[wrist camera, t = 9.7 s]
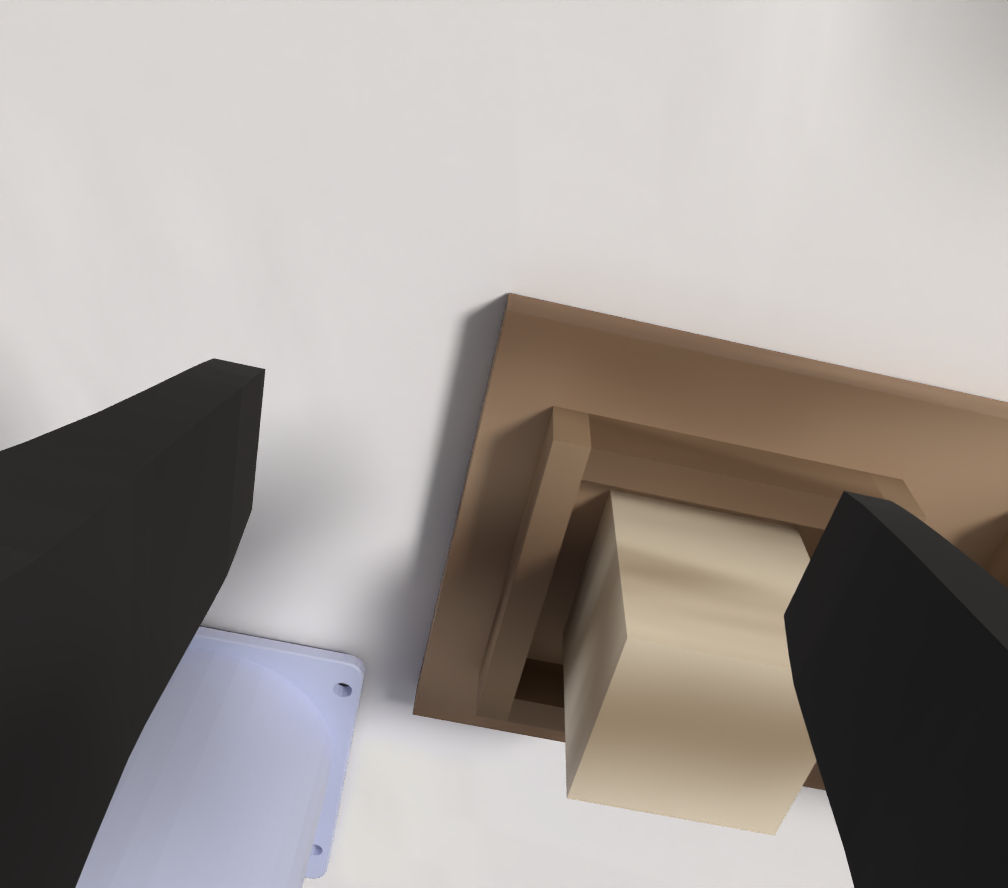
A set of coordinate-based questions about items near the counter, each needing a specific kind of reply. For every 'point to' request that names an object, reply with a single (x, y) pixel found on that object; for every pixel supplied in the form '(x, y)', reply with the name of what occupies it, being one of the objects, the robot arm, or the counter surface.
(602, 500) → the puzzle board
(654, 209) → the counter surface
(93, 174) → the counter surface
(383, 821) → the counter surface
